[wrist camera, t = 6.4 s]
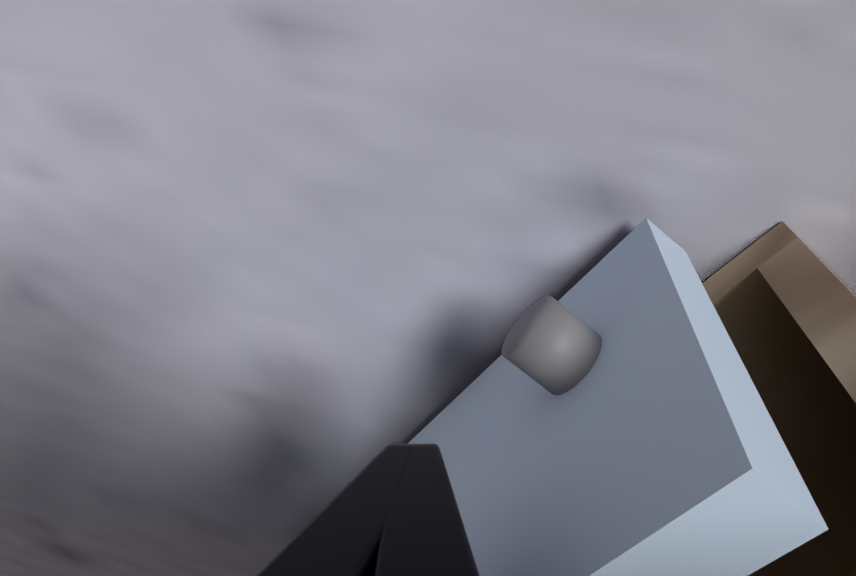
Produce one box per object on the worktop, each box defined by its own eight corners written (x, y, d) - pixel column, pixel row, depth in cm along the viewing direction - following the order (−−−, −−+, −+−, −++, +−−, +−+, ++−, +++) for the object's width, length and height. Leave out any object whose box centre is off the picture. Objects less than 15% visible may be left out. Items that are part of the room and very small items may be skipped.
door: (605, 183, 11) (681, 432, 5) (685, 251, 12) (846, 565, 6) (253, 540, 17) (88, 865, 11) (314, 580, 17) (187, 918, 11)
